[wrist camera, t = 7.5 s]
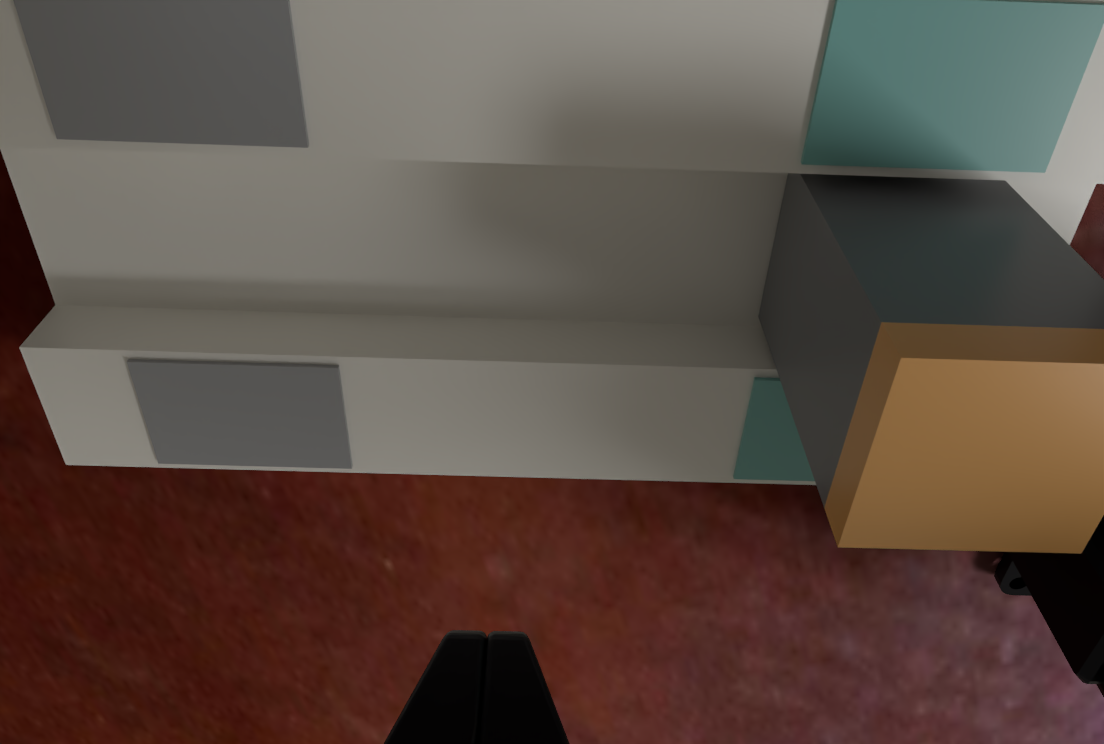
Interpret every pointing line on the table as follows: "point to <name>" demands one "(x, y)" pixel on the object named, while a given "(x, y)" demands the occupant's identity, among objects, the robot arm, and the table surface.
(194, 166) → the switch plate
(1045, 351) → the switch tab
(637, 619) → the table surface
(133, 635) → the table surface
